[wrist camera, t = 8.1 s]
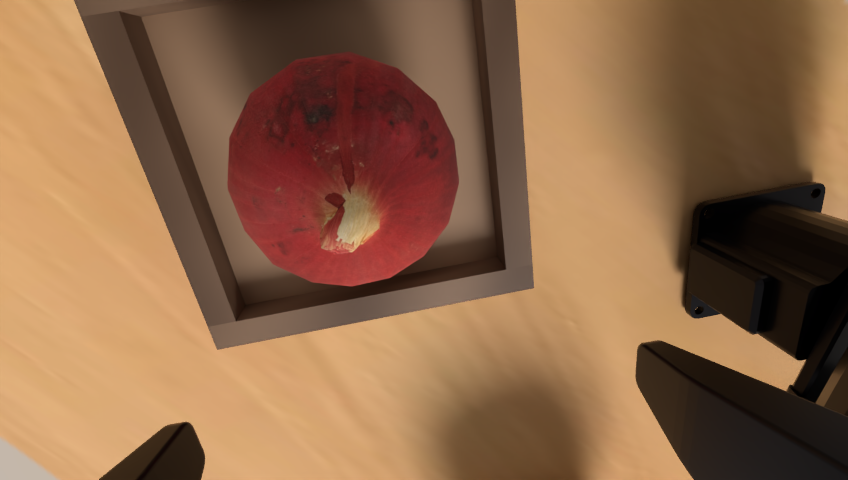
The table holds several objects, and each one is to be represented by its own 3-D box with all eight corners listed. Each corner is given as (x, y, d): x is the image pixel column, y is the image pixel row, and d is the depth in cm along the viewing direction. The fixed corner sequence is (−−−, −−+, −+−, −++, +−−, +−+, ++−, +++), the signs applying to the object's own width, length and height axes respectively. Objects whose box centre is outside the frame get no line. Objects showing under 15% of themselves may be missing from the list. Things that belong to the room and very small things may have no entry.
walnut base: (472, -46, 16) (509, -93, 12) (499, 243, 20) (533, 288, 16) (151, 3, 15) (63, -26, 11) (252, 290, 20) (217, 349, 15)
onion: (234, 80, 13) (94, 62, 6) (413, 50, 14) (495, -1, 6) (286, 249, 15) (232, 398, 8) (439, 216, 16) (525, 324, 8)
